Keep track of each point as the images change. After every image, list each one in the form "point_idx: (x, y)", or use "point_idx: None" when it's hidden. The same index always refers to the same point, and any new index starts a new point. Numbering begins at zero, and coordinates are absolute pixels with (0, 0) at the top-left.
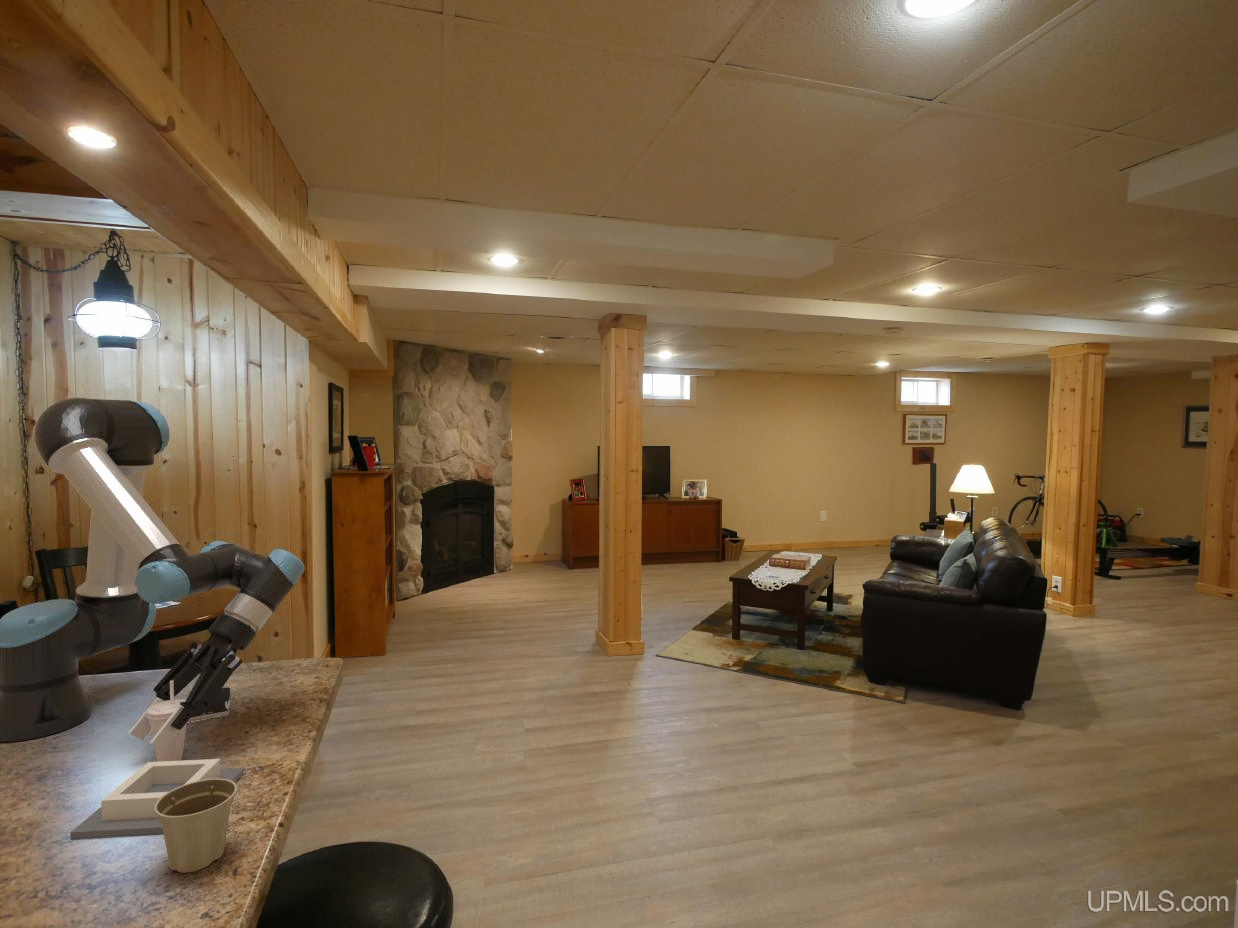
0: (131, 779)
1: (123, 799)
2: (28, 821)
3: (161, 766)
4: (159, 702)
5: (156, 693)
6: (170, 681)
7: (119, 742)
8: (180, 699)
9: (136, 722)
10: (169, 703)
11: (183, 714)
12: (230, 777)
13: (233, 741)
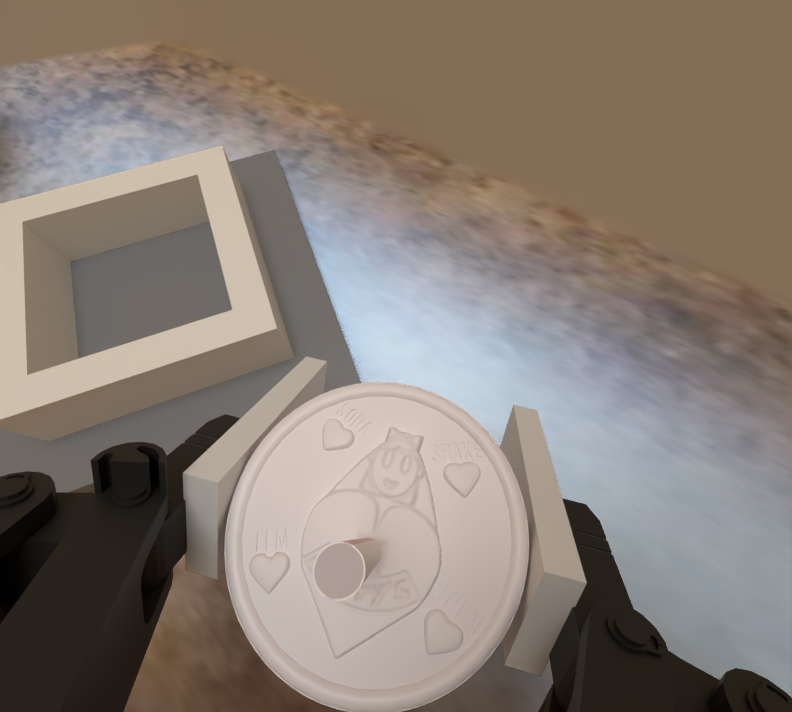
0: (232, 234)
1: (162, 162)
2: (447, 181)
3: (202, 322)
4: (529, 568)
5: (700, 671)
6: (341, 546)
7: (761, 597)
8: (408, 691)
9: (541, 440)
10: (404, 559)
11: (168, 461)
12: (4, 444)
13: None
